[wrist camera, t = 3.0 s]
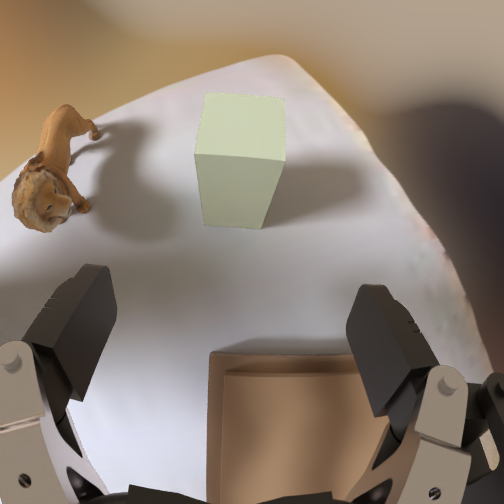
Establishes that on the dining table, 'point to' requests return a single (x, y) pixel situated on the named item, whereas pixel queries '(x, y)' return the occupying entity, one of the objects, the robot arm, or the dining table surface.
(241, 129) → the sage block
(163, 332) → the dining table surface
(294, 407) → the walnut plinth
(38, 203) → the lion figurine
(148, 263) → the dining table surface
